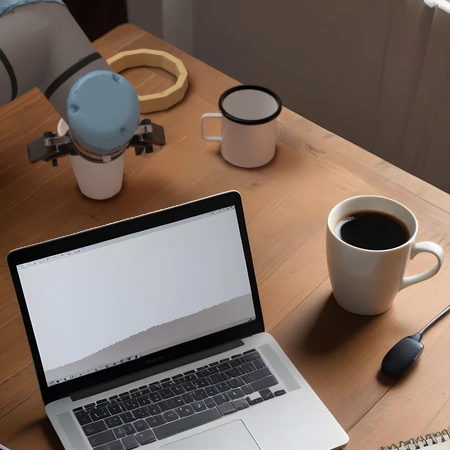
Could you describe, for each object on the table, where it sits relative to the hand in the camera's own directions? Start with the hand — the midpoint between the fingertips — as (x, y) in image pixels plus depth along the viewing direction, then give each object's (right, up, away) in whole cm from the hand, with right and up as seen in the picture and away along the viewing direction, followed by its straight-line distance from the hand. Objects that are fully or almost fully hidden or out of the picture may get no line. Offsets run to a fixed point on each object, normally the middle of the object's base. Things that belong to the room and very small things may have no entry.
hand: (95, 151), depth 122 cm
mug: (+21, +2, +8) cm, 23 cm away
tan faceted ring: (+5, +15, +18) cm, 24 cm away
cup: (0, -5, +2) cm, 5 cm away
